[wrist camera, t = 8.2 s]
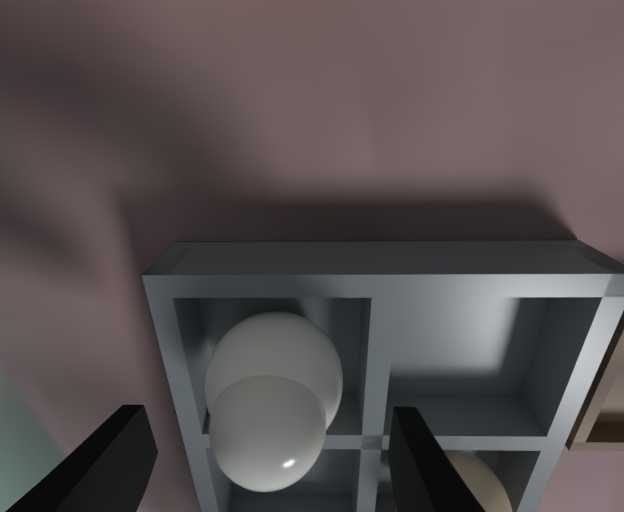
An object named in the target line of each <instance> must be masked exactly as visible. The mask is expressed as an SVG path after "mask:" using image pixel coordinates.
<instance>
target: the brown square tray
mask: <svg viewBox="0 0 624 512" xmlns="http://www.w3.org/2000/svg"><path fill="white" fill-rule="evenodd" d="M565 445H566V447H567V448H568V450H572V451H624V311H623V313H622V315H621V318H620V320H619V322H618V324H617V327H616V329H615V331H614V334H613V336H612V338H611V340H610V343H609V345H608V347H607V349H606V352H605V354H604V356H603V359H602V361H601V363H600V365H599V368H598V370H597V372H596V375H595V377H594V379H593V381H592V384H591V386H590V388H589V390H588V393H587V395H586V397H585V400H584V402H583V404H582V406H581V409H580V411H579V413H578V416H577V418H576V420H575V422H574V425H573V427H572V429H571V431H570V434H569V436H568V438H567V441H566V443H565Z"/></svg>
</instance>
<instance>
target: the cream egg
mask: <svg viewBox="0 0 624 512" xmlns="http://www.w3.org/2000/svg"><path fill="white" fill-rule="evenodd" d="M204 388H205V400H206V404H207V408H208V411H209V414H210V422H209V440H210V445H211V450H212V453H213V455H214V458H215V460H216V462H217V464H218V465H219V467H220V468H221V470H222V471H223V473H224V474H225V475H226V476H227V477H228V478H229V479H230V480H232V481H233V482H234V483H236V484H237V485H239V486H241V487H243V488H246V489H248V490H252V491H257V492H271V491H276V490H280V489H284V488H286V487H288V486H290V485H292V484H293V483H295V482H297V481H298V480H300V479H301V478H302V477H303V476H304V475H305V474H306V473H307V472H308V471H309V470H310V469H311V467H312V466H313V465H314V463H315V462H316V460H317V458H318V456H319V454H320V452H321V449H322V447H323V443H324V440H325V435H326V430H327V428H328V427H329V426H330V424H331V422H332V421H333V419H334V417H335V415H336V413H337V410H338V407H339V404H340V401H341V397H342V390H343V372H342V367H341V362H340V359H339V356H338V353H337V351H336V349H335V347H334V345H333V343H332V342H331V340H330V339H329V337H328V336H327V335H326V334H325V332H324V331H323V330H321V329H320V328H319V327H318V326H317V325H316V324H315V323H313V322H312V321H310V320H308V319H307V318H305V317H302V316H300V315H297V314H294V313H290V312H284V311H268V312H262V313H258V314H255V315H252V316H250V317H248V318H246V319H244V320H242V321H240V322H239V323H237V324H236V325H235V326H233V327H232V328H231V329H230V330H229V331H228V332H227V333H226V334H225V335H224V336H223V337H222V338H221V340H220V341H219V342H218V344H217V345H216V347H215V349H214V351H213V353H212V355H211V357H210V359H209V363H208V366H207V370H206V375H205V385H204Z"/></svg>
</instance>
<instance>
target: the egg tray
mask: <svg viewBox="0 0 624 512" xmlns="http://www.w3.org/2000/svg"><path fill="white" fill-rule="evenodd" d="M142 279H143V283H144V287H145V291H146V295H147V299H148V303H149V307H150V311H151V315H152V319H153V323H154V327H155V331H156V334H157V338H158V342H159V346H160V350H161V354H162V358H163V362H164V366H165V370H166V374H167V378H168V382H169V386H170V390H171V394H172V398H173V402H174V406H175V410H176V414H177V418H178V422H179V426H180V430H181V434H182V438H183V442H184V446H185V449H186V453H187V457H188V461H189V465H190V469H191V473H192V477H193V481H194V485H195V489H196V493H197V497H198V501H199V505H200V509H201V512H397V511H396V504H395V499H394V495H393V488H392V482H391V475H390V467H389V460H388V449H389V440H390V432H391V423H392V415H393V406H395V407H416V408H417V409H418V410H419V412H420V413H421V415H422V417H423V419H424V420H425V422H426V424H427V426H428V427H429V429H430V430H431V432H432V434H433V435H434V437H435V439H436V440H437V442H438V443H439V445H440V446H441V448H442V450H468V451H469V452H471V453H473V454H474V455H476V456H477V457H479V458H480V459H481V460H482V461H484V462H485V463H486V464H487V465H488V466H489V467H490V468H491V469H492V471H493V472H494V473H495V474H496V476H497V477H498V479H499V480H500V481H501V483H502V485H503V487H504V489H505V491H506V493H507V495H508V498H509V500H510V504H511V507H512V512H535V511H536V509H537V507H538V504H539V502H540V500H541V498H542V495H543V493H544V491H545V488H546V486H547V484H548V482H549V479H550V477H551V475H552V472H553V470H554V468H555V466H556V463H557V461H558V459H559V457H560V454H561V452H562V450H563V447H564V445H565V443H566V441H567V438H568V436H569V434H570V431H571V429H572V427H573V425H574V422H575V420H576V418H577V416H578V413H579V411H580V409H581V406H582V404H583V402H584V400H585V397H586V395H587V393H588V390H589V388H590V386H591V384H592V381H593V379H594V377H595V375H596V372H597V370H598V368H599V365H600V363H601V361H602V359H603V356H604V354H605V352H606V349H607V347H608V345H609V343H610V340H611V338H612V336H613V334H614V331H615V329H616V327H617V324H618V322H619V320H620V318H621V315H622V313H623V311H624V265H623V264H621V263H619V262H618V261H616V260H614V259H612V258H610V257H609V256H607V255H605V254H603V253H601V252H600V251H598V250H596V249H594V248H592V247H591V246H589V245H587V244H585V243H584V242H582V241H580V240H506V241H322V242H174V243H173V244H172V245H171V246H170V247H169V248H168V249H167V250H166V251H165V252H164V253H163V254H162V255H161V256H160V257H159V258H158V259H157V260H156V261H155V262H154V263H153V264H152V265H151V266H150V267H149V268H148V269H147V271H146V272H145V273H144V274H143V275H142ZM268 311H284V312H290V313H294V314H297V315H300V316H302V317H305V318H307V319H308V320H310V321H312V322H313V323H315V324H316V325H317V326H318V327H319V328H320V329H321V330H323V331H324V332H325V334H326V335H327V336H328V337H329V339H330V340H331V342H332V343H333V345H334V347H335V349H336V351H337V353H338V356H339V359H340V362H341V367H342V372H343V390H342V397H341V401H340V404H339V407H338V410H337V413H336V415H335V417H334V419H333V421H332V422H331V424H330V426H329V427H328V428H327V430H326V435H325V440H324V443H323V447H322V449H321V452H320V454H319V456H318V458H317V460H316V462H315V463H314V465H313V466H312V467H311V469H310V470H309V471H308V472H307V473H306V474H305V475H304V476H303V477H302V478H301V479H300V480H298V481H297V482H295V483H293V484H292V485H290V486H288V487H286V488H284V489H280V490H276V491H271V492H257V491H252V490H248V489H246V488H243V487H241V486H239V485H237V484H236V483H234V482H233V481H232V480H230V479H229V478H228V477H227V476H226V475H225V474H224V473H223V471H222V470H221V468H220V467H219V465H218V464H217V462H216V460H215V458H214V455H213V453H212V450H211V445H210V440H209V422H210V414H209V411H208V408H207V404H206V400H205V388H204V385H205V375H206V370H207V366H208V363H209V359H210V357H211V355H212V353H213V351H214V349H215V347H216V345H217V344H218V342H219V341H220V340H221V338H222V337H223V336H224V335H225V334H226V333H227V332H228V331H229V330H230V329H231V328H232V327H233V326H235V325H236V324H237V323H239V322H240V321H242V320H244V319H246V318H248V317H250V316H252V315H255V314H258V313H262V312H268Z"/></svg>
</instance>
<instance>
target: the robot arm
mask: <svg viewBox="0 0 624 512" xmlns="http://www.w3.org/2000/svg"><path fill="white" fill-rule="evenodd" d="M157 454H158V450H157V447H156V444H155V440H154V437H153V434H152V430H151V427H150V424H149V420H148V417H147V413H146V410H145V407H144V405H122V406H121V407H120V408H119V409H118V410H117V411H116V412H115V413H114V414H113V415H111V416H110V417H109V418H108V419H107V420H106V421H105V422H104V423H103V424H102V425H101V426H100V427H99V428H98V429H97V430H95V431H94V432H93V433H92V434H91V435H90V436H89V437H88V438H87V439H86V440H85V441H84V442H83V443H82V444H81V445H80V446H78V447H77V448H76V449H75V450H74V451H73V452H72V453H71V454H70V455H69V456H68V457H67V458H65V459H64V460H63V461H62V462H61V463H60V464H59V465H58V466H57V467H56V468H55V469H53V470H52V471H51V472H50V473H49V474H48V475H47V476H46V477H45V478H44V479H43V480H41V481H40V482H39V483H38V484H37V485H36V486H34V487H33V488H32V489H31V490H30V491H29V492H28V493H26V494H25V495H24V496H23V497H22V498H21V499H19V500H18V501H17V502H16V503H15V504H14V505H13V506H11V507H10V508H9V509H8V510H7V511H6V512H136V511H137V509H138V506H139V504H140V502H141V500H142V497H143V495H144V493H145V490H146V487H147V485H148V482H149V479H150V476H151V473H152V470H153V467H154V464H155V460H156V457H157ZM388 460H389V467H390V475H391V482H392V488H393V495H394V499H395V504H396V508H397V512H486V511H485V510H484V509H483V507H482V506H481V504H480V503H479V502H478V500H477V499H476V498H475V496H474V495H473V494H472V492H471V491H470V489H469V488H468V486H467V485H466V484H465V482H464V481H463V479H462V478H461V476H460V475H459V473H458V472H457V471H456V469H455V468H454V466H453V465H452V463H451V462H450V460H449V459H448V457H447V456H446V454H445V453H444V451H443V450H442V448H441V446H440V445H439V443H438V442H437V440H436V439H435V437H434V435H433V434H432V432H431V430H430V429H429V427H428V426H427V424H426V422H425V420H424V419H423V417H422V415H421V413H420V412H419V410H418V409H417V408H416V407H395V406H393V415H392V423H391V432H390V440H389V449H388Z"/></svg>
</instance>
